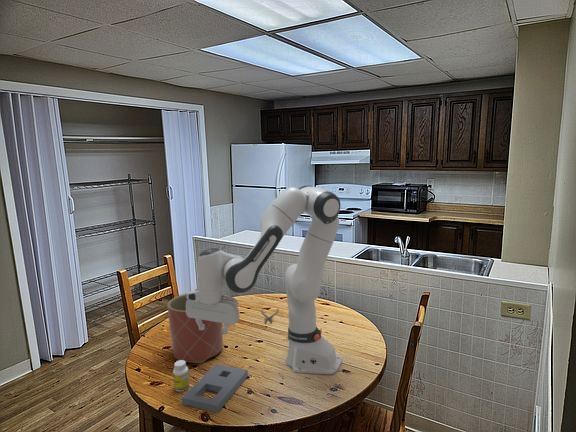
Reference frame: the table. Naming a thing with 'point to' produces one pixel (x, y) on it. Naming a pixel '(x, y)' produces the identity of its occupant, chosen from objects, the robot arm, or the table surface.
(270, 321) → the pliers
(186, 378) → the supplement bottle
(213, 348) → the planter
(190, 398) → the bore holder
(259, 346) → the table surface
